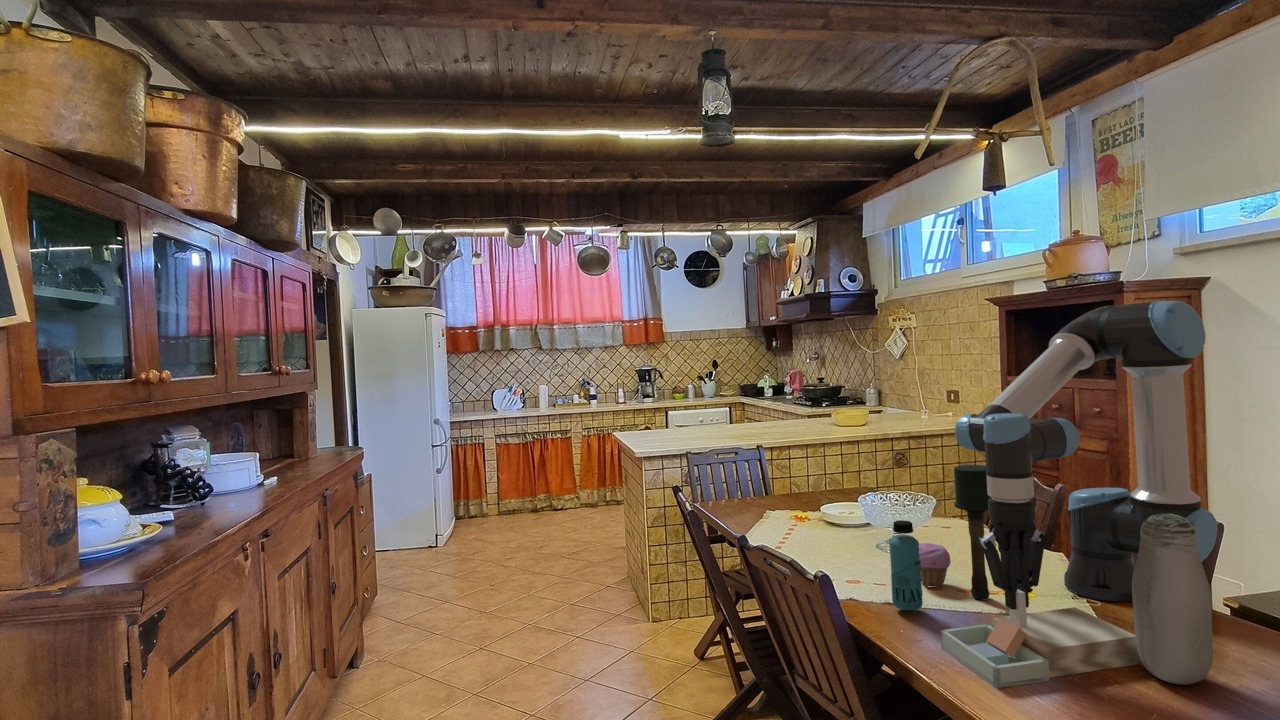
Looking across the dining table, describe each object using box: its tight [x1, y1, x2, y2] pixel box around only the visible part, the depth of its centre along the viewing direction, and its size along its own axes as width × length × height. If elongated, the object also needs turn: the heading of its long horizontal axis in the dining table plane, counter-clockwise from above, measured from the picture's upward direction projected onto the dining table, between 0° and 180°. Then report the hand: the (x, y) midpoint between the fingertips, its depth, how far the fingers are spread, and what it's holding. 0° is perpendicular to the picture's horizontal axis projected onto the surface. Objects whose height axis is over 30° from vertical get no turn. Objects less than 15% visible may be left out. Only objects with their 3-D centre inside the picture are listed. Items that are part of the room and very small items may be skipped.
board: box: [992, 606, 1140, 678], centre depth 124 cm, size 18×14×5 cm
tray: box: [940, 623, 1051, 689], centre depth 122 cm, size 10×16×4 cm, turn 8°
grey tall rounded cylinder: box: [1132, 514, 1214, 686], centre depth 112 cm, size 10×10×28 cm
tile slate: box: [969, 643, 1009, 666], centre depth 121 cm, size 5×5×2 cm
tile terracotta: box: [986, 618, 1027, 657], centre depth 122 cm, size 5×5×2 cm
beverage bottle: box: [888, 520, 924, 611], centre depth 147 cm, size 6×7×20 cm
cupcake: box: [919, 542, 952, 587], centre depth 162 cm, size 9×9×10 cm
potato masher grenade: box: [953, 464, 990, 600], centre depth 152 cm, size 8×9×30 cm
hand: (1018, 625), depth 123 cm, fingers closed
